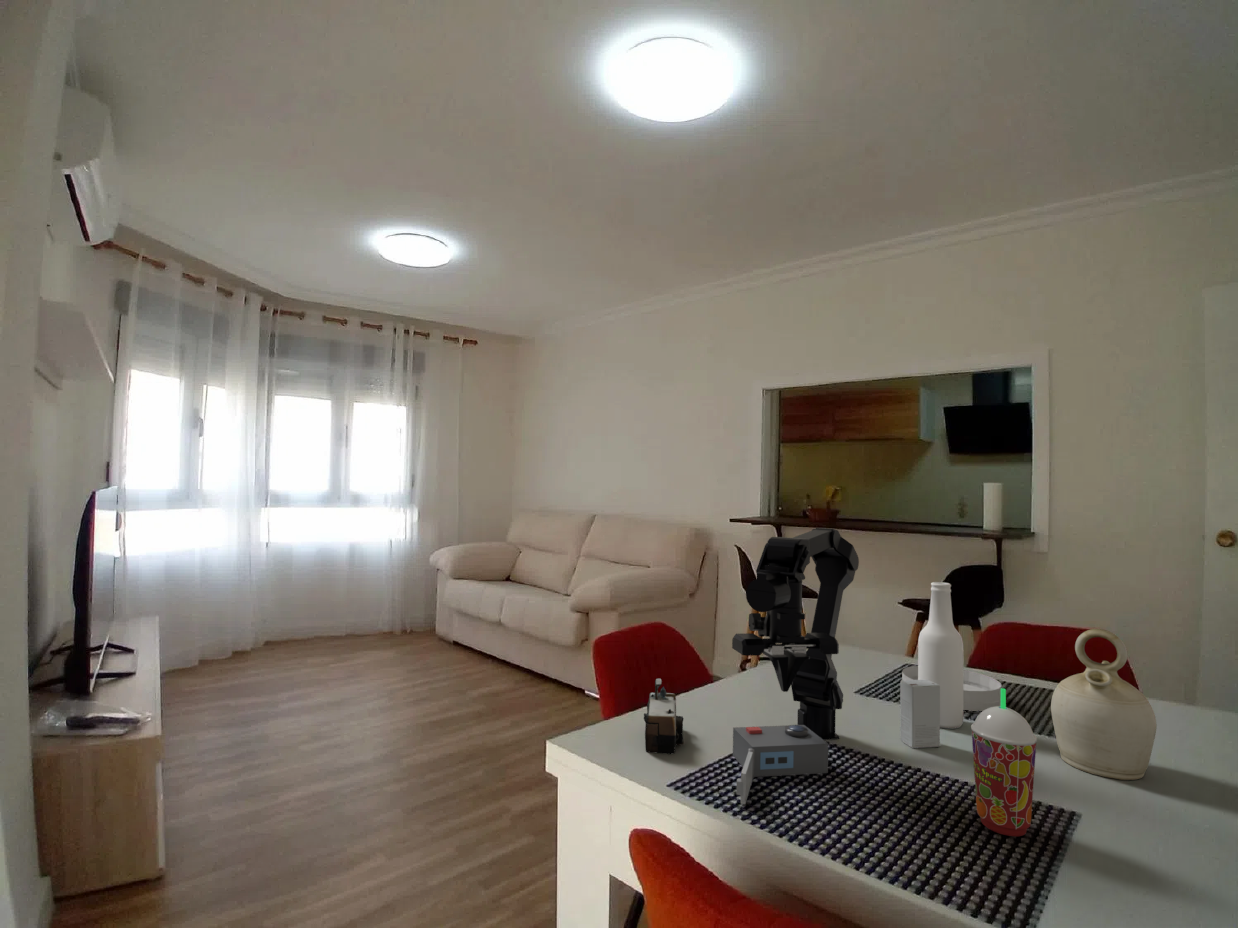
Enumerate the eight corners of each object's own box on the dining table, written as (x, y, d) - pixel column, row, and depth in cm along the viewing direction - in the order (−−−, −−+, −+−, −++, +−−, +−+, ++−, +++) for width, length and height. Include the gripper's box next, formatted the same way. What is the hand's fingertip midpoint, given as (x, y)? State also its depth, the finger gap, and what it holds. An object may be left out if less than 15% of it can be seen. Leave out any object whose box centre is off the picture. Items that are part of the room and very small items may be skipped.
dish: (911, 679, 170) (911, 660, 171) (1006, 696, 158) (1006, 676, 158) (892, 699, 152) (892, 678, 153) (998, 720, 140) (998, 697, 140)
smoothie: (958, 812, 96) (959, 680, 97) (1010, 812, 97) (1009, 680, 98) (995, 842, 88) (995, 697, 89) (1051, 841, 89) (1051, 697, 90)
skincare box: (926, 739, 126) (926, 678, 127) (941, 748, 122) (941, 684, 122) (898, 740, 125) (898, 678, 126) (912, 749, 121) (912, 685, 121)
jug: (1130, 792, 105) (1128, 641, 107) (1033, 756, 119) (1033, 623, 120) (1174, 775, 112) (1172, 634, 114) (1078, 744, 126) (1077, 618, 127)
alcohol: (959, 732, 130) (959, 587, 132) (913, 722, 136) (914, 582, 137) (966, 721, 137) (966, 583, 139) (922, 712, 143) (923, 579, 144)
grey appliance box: (803, 751, 118) (804, 719, 118) (828, 773, 109) (828, 738, 109) (732, 755, 116) (733, 721, 116) (752, 777, 106) (752, 741, 107)
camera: (682, 756, 114) (684, 700, 115) (641, 753, 115) (643, 698, 116) (684, 726, 129) (685, 677, 130) (648, 724, 130) (649, 675, 131)
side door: (746, 804, 96) (746, 773, 97) (736, 803, 97) (736, 771, 97) (754, 777, 106) (754, 748, 106) (745, 775, 107) (745, 747, 107)
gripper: (811, 598, 126) (810, 677, 125) (722, 598, 123) (721, 679, 122) (840, 608, 115) (839, 694, 114) (744, 608, 112) (742, 697, 111)
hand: (784, 690), depth 116 cm, fingers closed
